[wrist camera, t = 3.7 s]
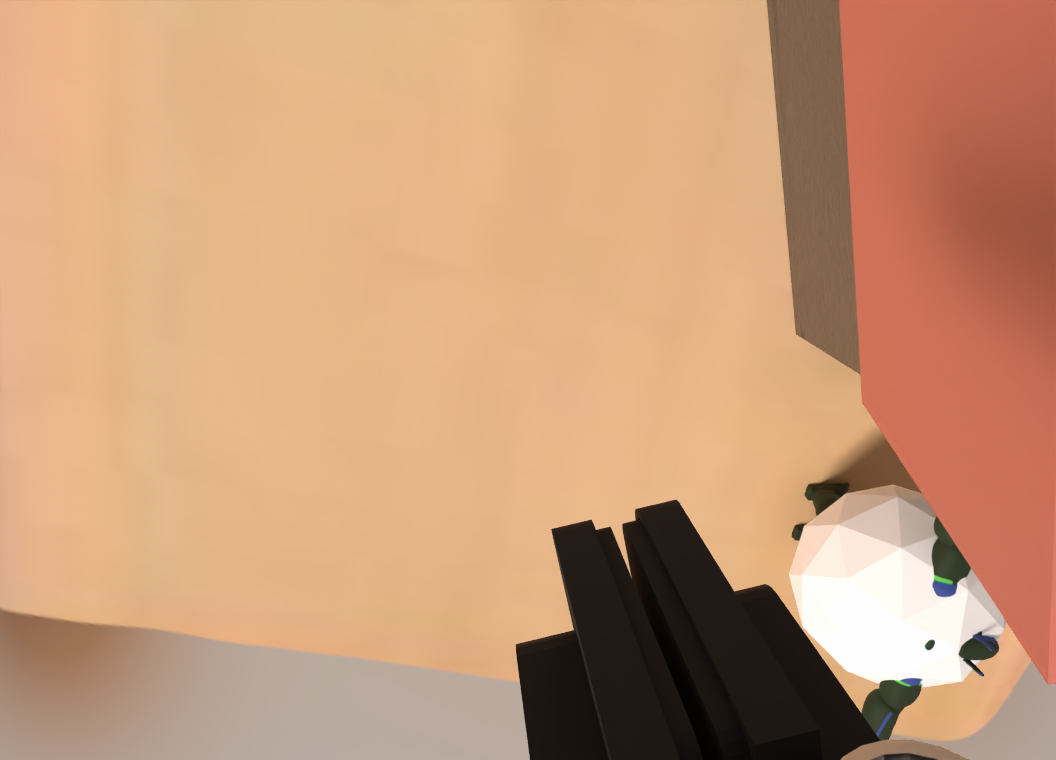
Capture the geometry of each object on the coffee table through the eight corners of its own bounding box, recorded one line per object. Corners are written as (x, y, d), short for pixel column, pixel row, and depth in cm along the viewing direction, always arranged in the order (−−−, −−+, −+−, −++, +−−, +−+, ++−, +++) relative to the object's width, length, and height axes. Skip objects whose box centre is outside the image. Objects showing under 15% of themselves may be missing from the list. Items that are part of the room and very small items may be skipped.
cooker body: (761, -57, 36) (873, -120, 26) (1087, -128, 36) (1313, -215, 26) (798, 360, 43) (896, 429, 33) (1069, 298, 43) (1241, 348, 34)
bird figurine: (860, 642, 50) (998, 819, 37) (710, 628, 48) (802, 809, 36) (954, 388, 44) (1154, 496, 32) (789, 364, 43) (930, 467, 30)
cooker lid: (870, -72, 27) (835, -64, 27) (1230, -306, 10) (1130, -279, 11) (891, 398, 33) (862, 402, 33) (1135, 721, 17) (1074, 724, 17)
